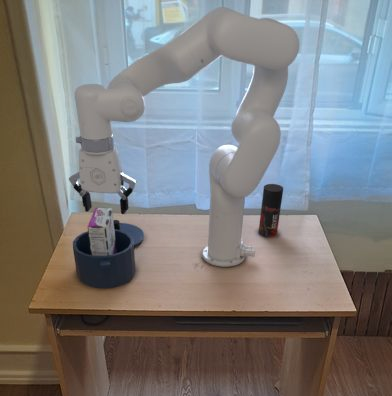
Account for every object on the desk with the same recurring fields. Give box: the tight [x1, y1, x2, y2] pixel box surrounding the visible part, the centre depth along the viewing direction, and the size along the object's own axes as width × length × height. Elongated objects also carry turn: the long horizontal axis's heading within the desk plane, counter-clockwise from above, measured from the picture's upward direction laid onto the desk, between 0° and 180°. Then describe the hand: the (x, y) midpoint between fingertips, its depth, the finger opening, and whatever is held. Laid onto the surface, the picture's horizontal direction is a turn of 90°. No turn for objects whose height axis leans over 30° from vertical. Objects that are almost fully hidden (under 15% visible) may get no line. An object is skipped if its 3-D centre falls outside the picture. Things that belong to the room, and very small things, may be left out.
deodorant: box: [258, 183, 284, 238], centre depth 155 cm, size 6×6×15 cm
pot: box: [72, 229, 136, 289], centre depth 136 cm, size 16×21×10 cm
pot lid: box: [113, 219, 145, 247], centre depth 153 cm, size 17×17×6 cm
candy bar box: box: [87, 207, 117, 256], centre depth 134 cm, size 11×5×16 cm, turn 179°
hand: (106, 210), depth 129 cm, fingers open, 9 cm apart
